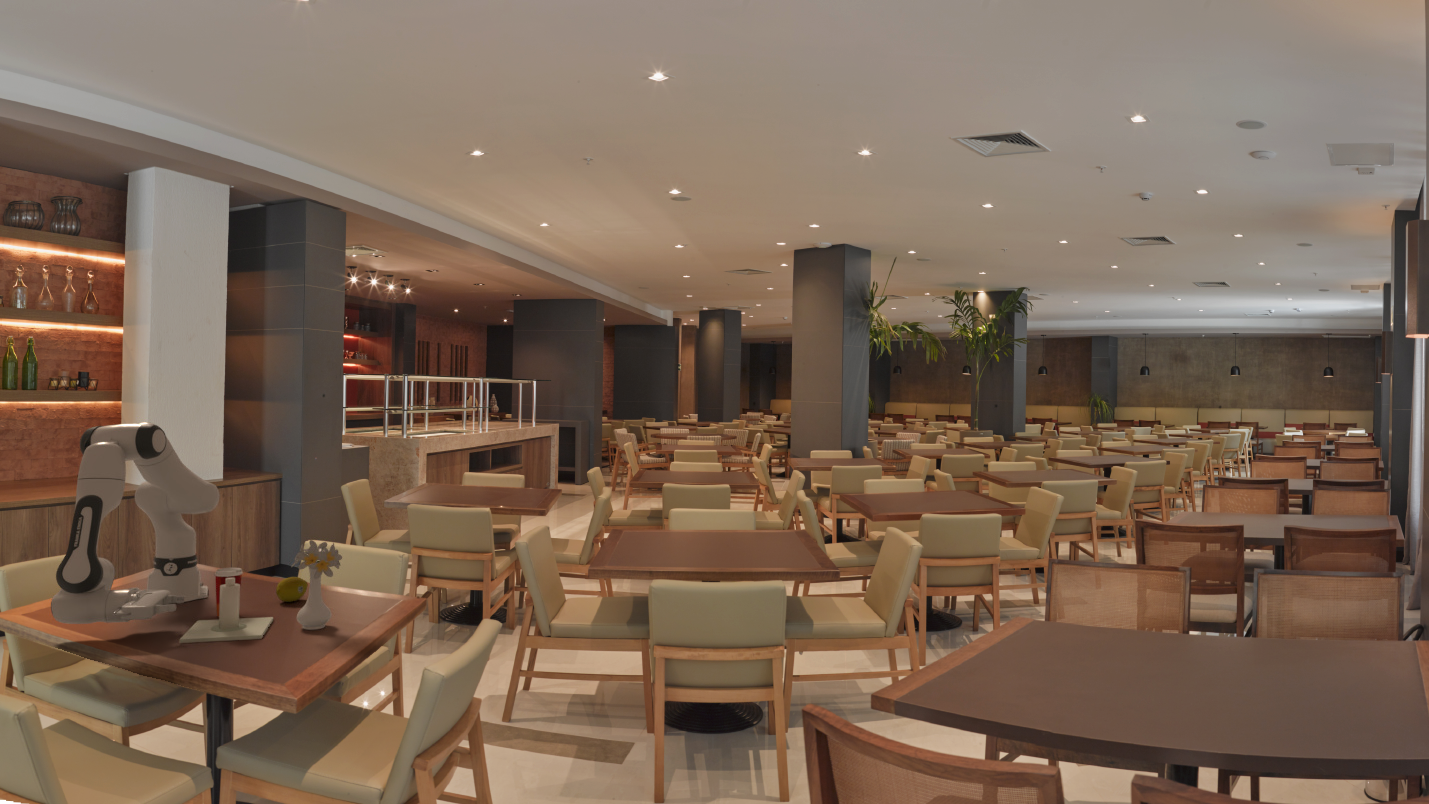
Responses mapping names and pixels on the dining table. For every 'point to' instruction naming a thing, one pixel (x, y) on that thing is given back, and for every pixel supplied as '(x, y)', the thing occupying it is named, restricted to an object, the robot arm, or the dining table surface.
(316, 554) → the flower vase
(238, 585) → the cream bottle
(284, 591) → the lemon
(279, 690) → the dining table surface
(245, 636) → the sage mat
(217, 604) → the paper cup
